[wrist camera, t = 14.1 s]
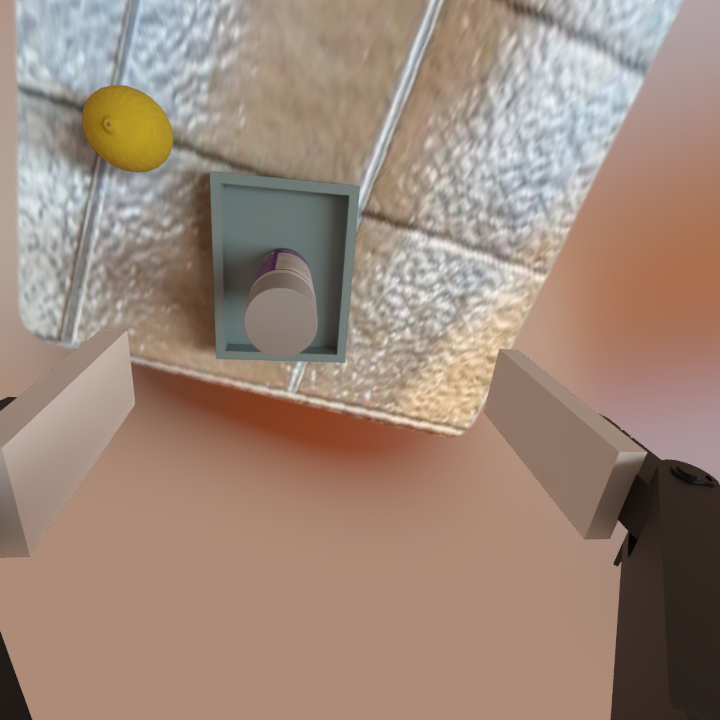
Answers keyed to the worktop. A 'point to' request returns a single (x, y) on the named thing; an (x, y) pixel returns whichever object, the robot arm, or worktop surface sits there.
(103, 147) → the lemon
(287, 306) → the container
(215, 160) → the worktop surface
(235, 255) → the tray
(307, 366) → the worktop surface
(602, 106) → the worktop surface
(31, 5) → the worktop surface
